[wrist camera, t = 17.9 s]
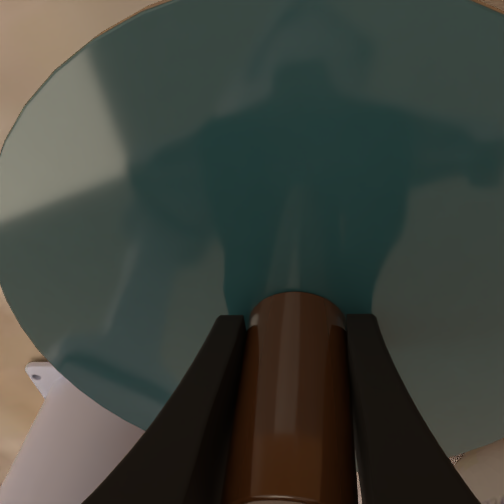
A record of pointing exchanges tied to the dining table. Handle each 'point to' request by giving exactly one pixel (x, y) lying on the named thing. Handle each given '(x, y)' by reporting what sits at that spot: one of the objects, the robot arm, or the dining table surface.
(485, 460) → the teacup
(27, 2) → the dining table surface
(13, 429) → the dining table surface
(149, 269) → the lid
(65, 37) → the dining table surface
